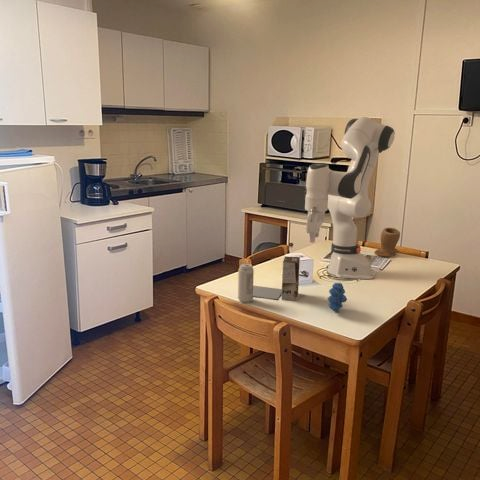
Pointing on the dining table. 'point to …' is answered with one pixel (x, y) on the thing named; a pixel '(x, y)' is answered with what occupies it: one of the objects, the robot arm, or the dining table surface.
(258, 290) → the mat
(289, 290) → the coffee box
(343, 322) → the dining table surface
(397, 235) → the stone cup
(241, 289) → the energy drink can
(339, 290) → the grapes
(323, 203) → the robot arm
